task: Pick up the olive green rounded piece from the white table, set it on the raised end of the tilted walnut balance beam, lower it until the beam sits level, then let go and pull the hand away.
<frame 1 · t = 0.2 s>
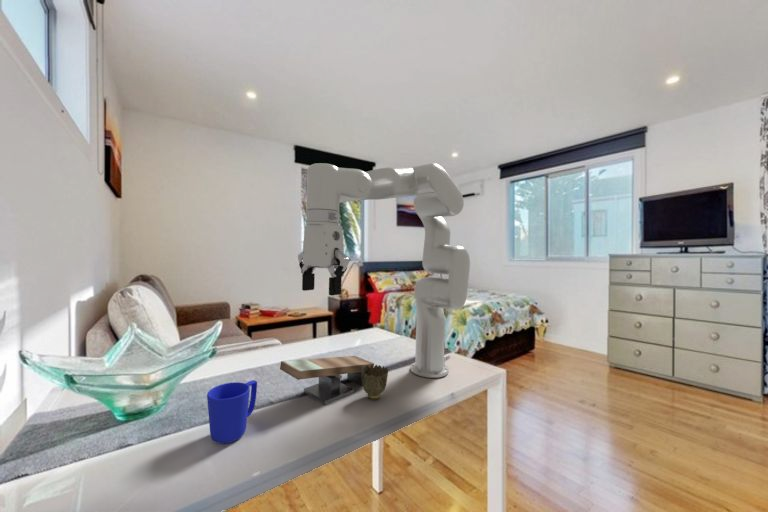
hand: (321, 292, 74), 31 cm above the table, tool pointing down, fingers open, 9 cm apart
olive green rounded piece: (373, 398, 87), on the table
beam: (330, 367, 89), point 7 cm above the table, hinge at -10.0°
mug: (235, 432, 70), on the table
pivot stand: (329, 392, 90), on the table
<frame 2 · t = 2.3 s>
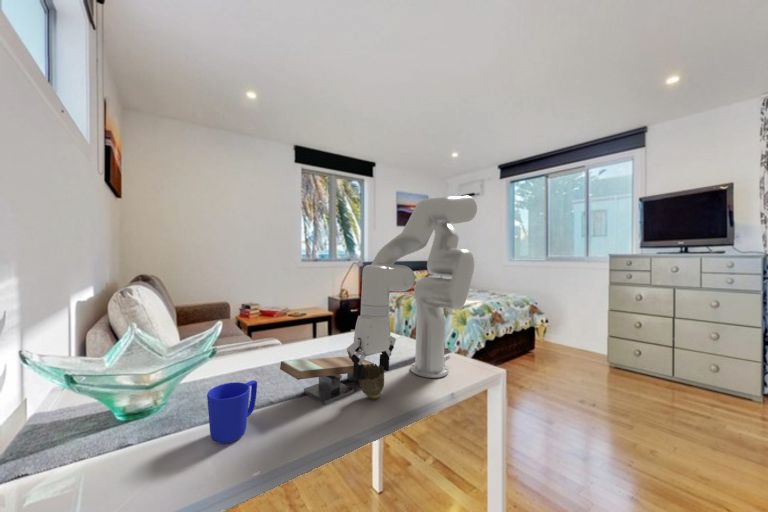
hand: (371, 373, 86), 7 cm above the table, tool pointing down, fingers open, 9 cm apart
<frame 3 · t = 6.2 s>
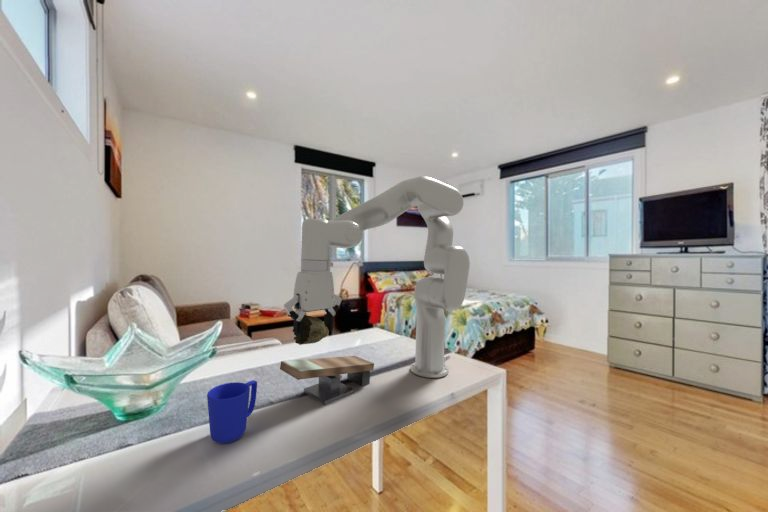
hand: (313, 332, 83), 19 cm above the table, tool pointing down, fingers closed on olive green rounded piece, 8 cm apart
olive green rounded piece: (326, 331, 86), point 18 cm above the table, touching gripper
everything else where it was.
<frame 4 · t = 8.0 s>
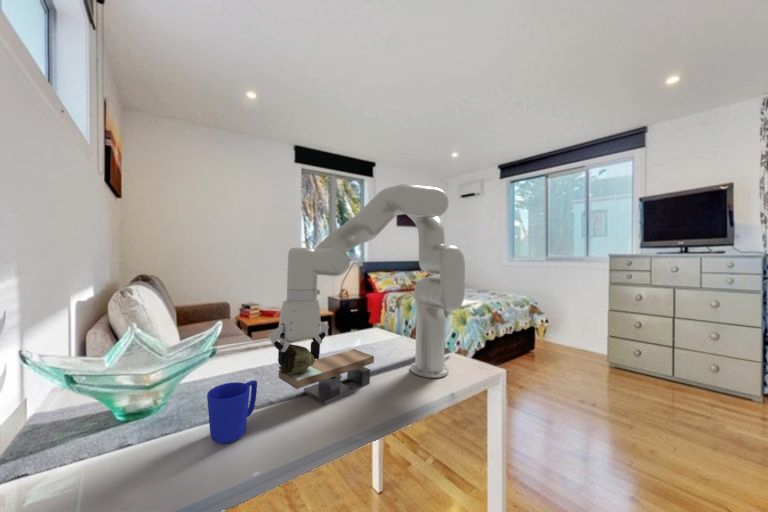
hand: (299, 361, 82), 11 cm above the table, tool pointing down, fingers closed on olive green rounded piece, 8 cm apart
olive green rounded piece: (312, 359, 85), point 11 cm above the table, touching beam, gripper
beam: (329, 367, 89), point 7 cm above the table, hinge at -0.2°, touching olive green rounded piece
everything else where it was.
when the fingers open (11 cm above the table, at t = 9.3 s): olive green rounded piece stays where it is, resting on beam.
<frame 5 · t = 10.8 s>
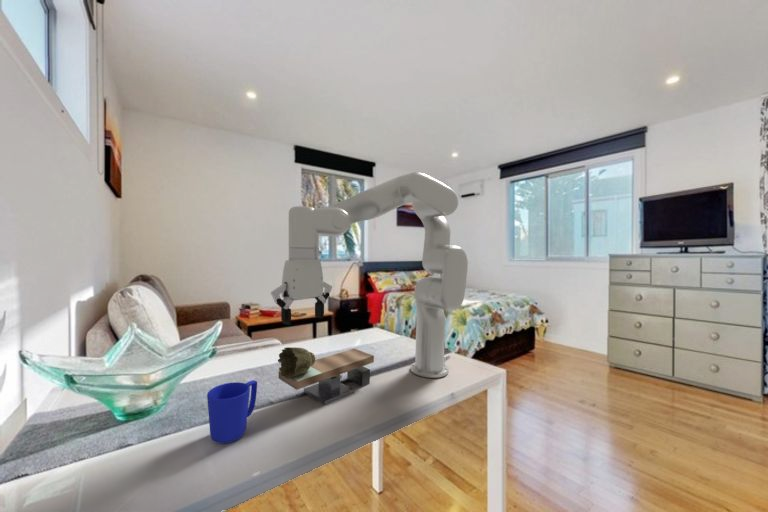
hand: (303, 320, 83), 22 cm above the table, tool pointing down, fingers open, 9 cm apart
olive green rounded piece: (312, 358, 85), point 11 cm above the table, touching beam
beam: (329, 367, 89), point 7 cm above the table, hinge at 0.7°, touching olive green rounded piece
everything else where it was.
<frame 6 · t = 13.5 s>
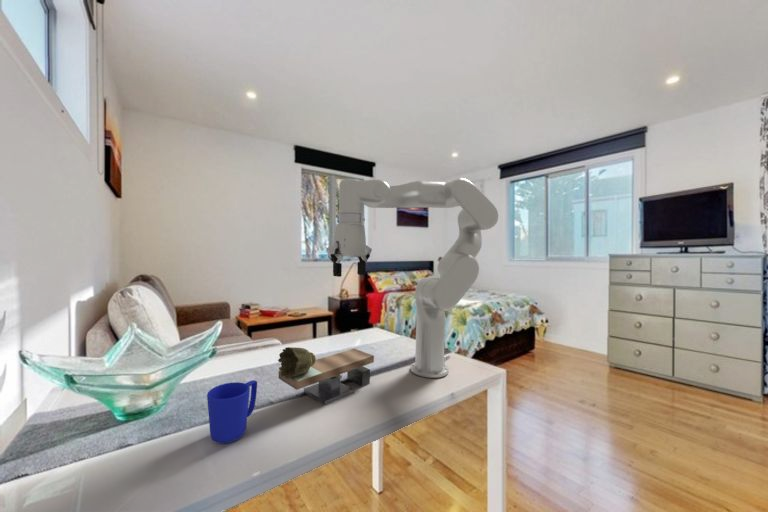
hand: (349, 275, 99), 32 cm above the table, tool pointing down, fingers open, 9 cm apart
nothing on the table moved.
at the end: beam at +1° (first picture: -10°); olive green rounded piece inside the target area on the beam (2.8 cm from its centre), point 5.0 cm above the beam's base; the gripper is holding nothing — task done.
